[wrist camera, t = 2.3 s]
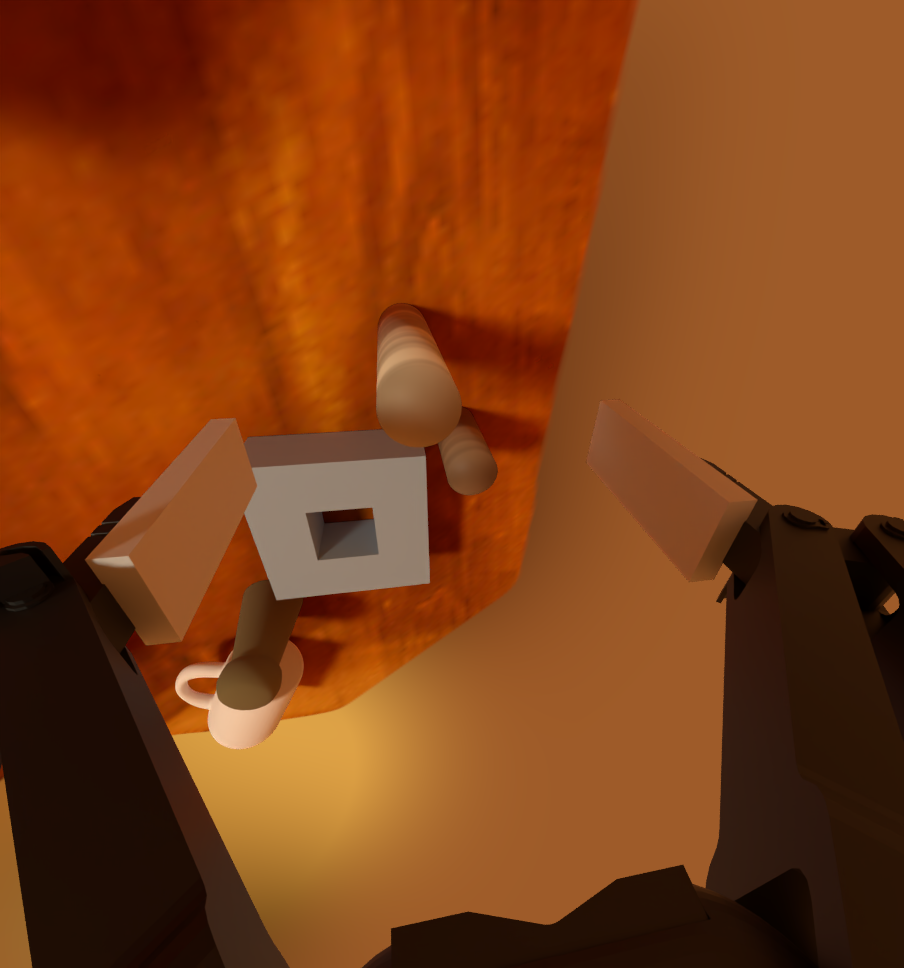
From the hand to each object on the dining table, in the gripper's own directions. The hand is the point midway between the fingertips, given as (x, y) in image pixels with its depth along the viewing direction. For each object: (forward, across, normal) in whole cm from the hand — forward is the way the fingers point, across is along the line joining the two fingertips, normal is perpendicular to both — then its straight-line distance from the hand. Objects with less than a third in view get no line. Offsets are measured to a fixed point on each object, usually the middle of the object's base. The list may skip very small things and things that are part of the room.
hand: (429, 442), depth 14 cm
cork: (+18, -16, -27) cm, 36 cm away
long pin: (+18, 0, 0) cm, 18 cm away
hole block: (+18, -6, -15) cm, 24 cm away
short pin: (+18, +4, -8) cm, 20 cm away
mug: (+18, -21, -37) cm, 46 cm away
